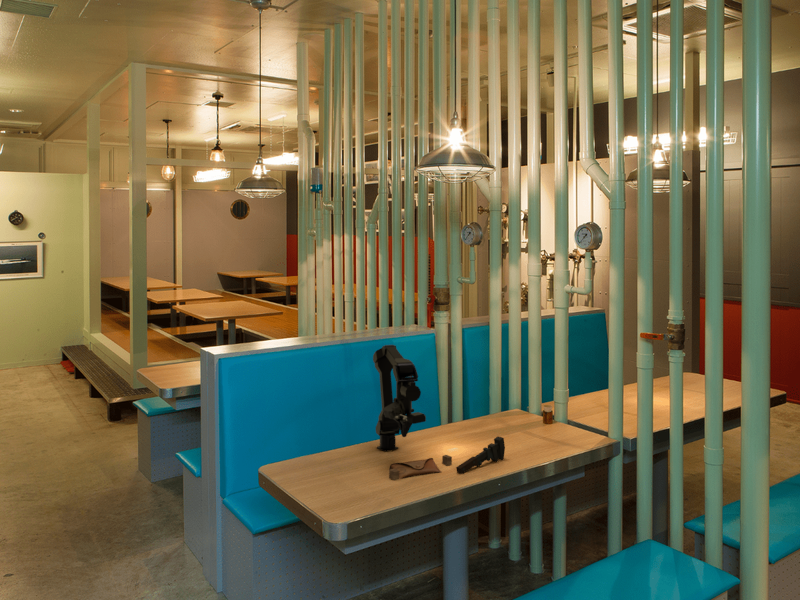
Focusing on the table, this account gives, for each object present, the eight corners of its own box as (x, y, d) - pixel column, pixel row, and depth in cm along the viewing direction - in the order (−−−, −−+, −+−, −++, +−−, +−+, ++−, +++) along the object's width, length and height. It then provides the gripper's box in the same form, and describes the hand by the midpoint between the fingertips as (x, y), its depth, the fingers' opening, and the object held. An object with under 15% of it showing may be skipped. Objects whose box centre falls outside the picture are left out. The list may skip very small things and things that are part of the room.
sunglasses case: (398, 479, 227) (394, 460, 229) (391, 484, 232) (387, 465, 235) (443, 472, 234) (439, 454, 237) (435, 476, 240) (431, 458, 243)
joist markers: (389, 478, 228) (389, 469, 228) (446, 462, 245) (446, 454, 245) (394, 480, 226) (394, 472, 226) (451, 464, 243) (451, 456, 242)
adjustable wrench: (458, 485, 235) (500, 456, 251) (463, 487, 233) (506, 457, 249) (454, 464, 233) (497, 436, 250) (460, 465, 231) (503, 437, 248)
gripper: (371, 394, 243) (371, 435, 244) (402, 403, 228) (402, 446, 229) (395, 390, 250) (395, 430, 251) (426, 398, 235) (426, 441, 236)
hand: (404, 436), depth 242 cm, fingers closed
